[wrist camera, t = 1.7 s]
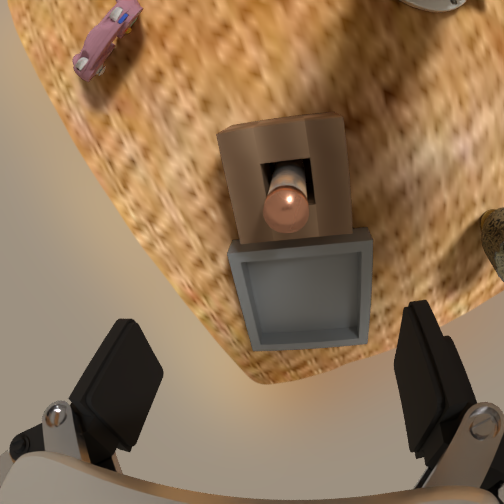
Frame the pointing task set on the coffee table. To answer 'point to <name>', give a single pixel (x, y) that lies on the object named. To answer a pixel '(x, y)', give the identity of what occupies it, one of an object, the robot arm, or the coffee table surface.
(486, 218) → the cup
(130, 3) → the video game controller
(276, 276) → the tray
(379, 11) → the coffee table surface
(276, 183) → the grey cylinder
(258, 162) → the hitch block
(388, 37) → the coffee table surface
